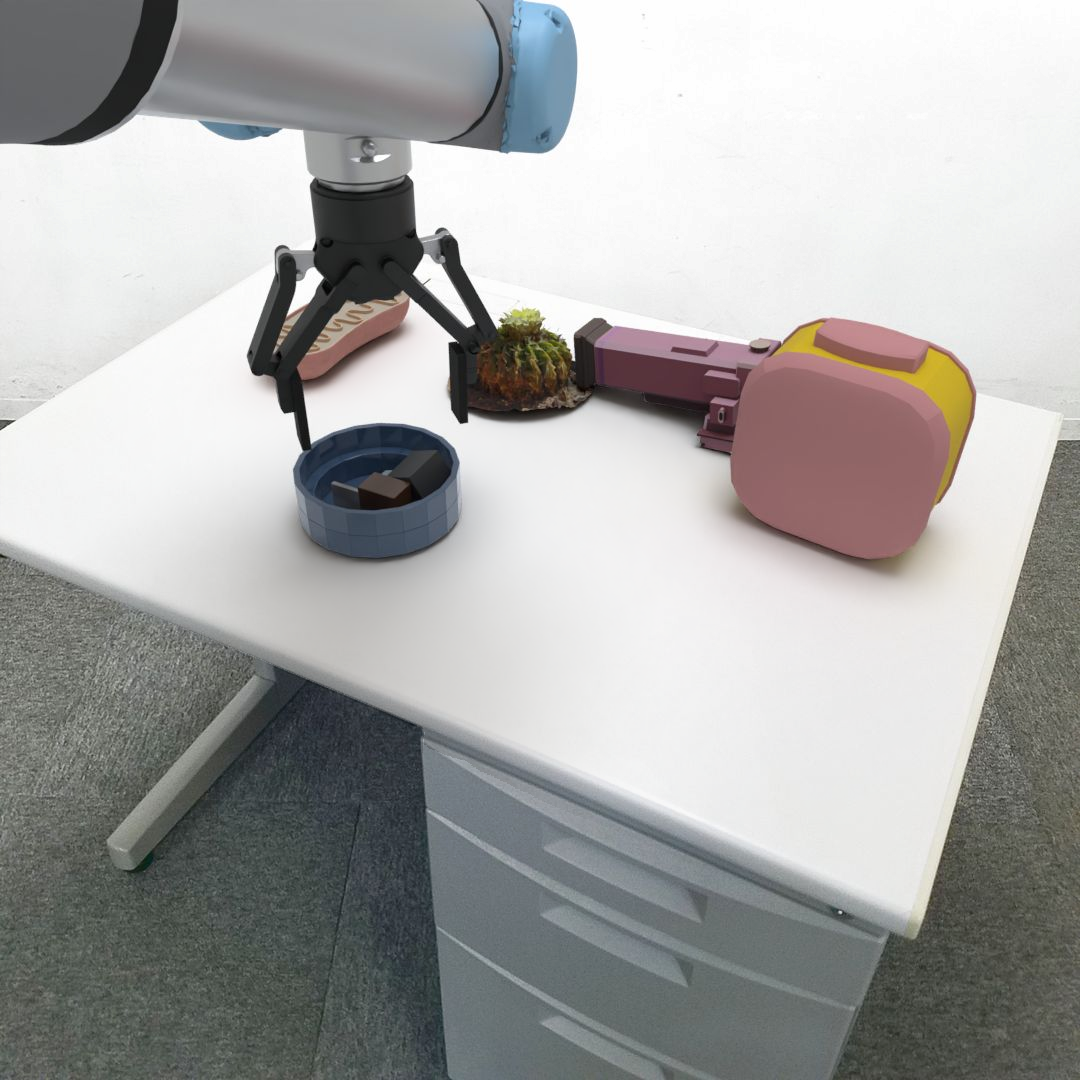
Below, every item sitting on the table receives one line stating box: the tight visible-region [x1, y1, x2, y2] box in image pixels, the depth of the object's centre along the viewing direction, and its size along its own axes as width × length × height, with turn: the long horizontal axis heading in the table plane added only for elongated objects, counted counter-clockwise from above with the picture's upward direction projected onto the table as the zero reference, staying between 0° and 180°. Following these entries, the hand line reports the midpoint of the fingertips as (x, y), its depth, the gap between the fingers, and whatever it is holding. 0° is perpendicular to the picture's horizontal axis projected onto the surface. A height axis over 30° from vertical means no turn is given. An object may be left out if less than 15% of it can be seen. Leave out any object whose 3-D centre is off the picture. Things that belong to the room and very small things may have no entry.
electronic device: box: [573, 317, 783, 454], centre depth 105 cm, size 11×27×10 cm, turn 59°
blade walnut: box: [331, 472, 412, 510], centre depth 90 cm, size 8×3×4 cm, turn 64°
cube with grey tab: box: [382, 450, 451, 501], centre depth 93 cm, size 8×3×4 cm
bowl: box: [292, 422, 462, 559], centre depth 91 cm, size 15×15×6 cm
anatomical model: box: [273, 291, 411, 381], centre depth 117 cm, size 23×10×5 cm, turn 151°
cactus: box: [447, 307, 595, 412], centre depth 110 cm, size 17×16×10 cm
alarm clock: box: [729, 317, 977, 560], centre depth 87 cm, size 18×11×19 cm, turn 56°
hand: (383, 429), depth 83 cm, fingers open, 13 cm apart
